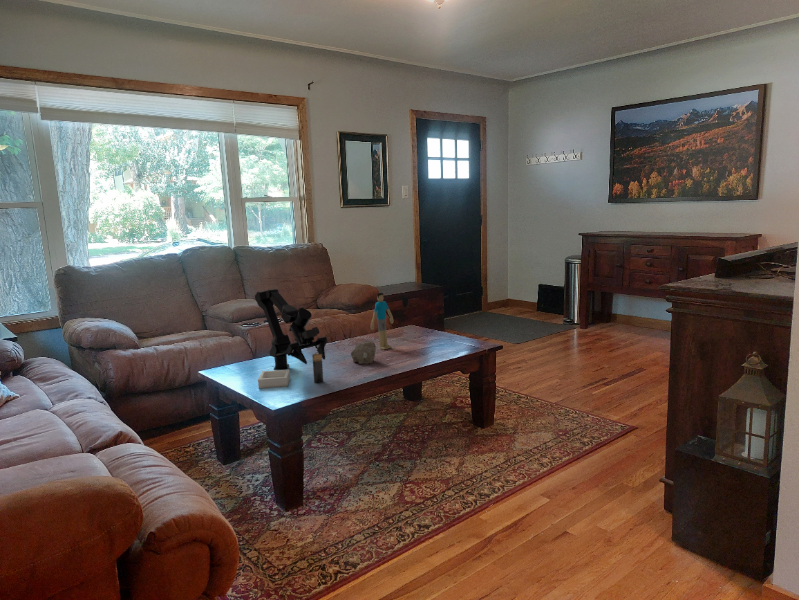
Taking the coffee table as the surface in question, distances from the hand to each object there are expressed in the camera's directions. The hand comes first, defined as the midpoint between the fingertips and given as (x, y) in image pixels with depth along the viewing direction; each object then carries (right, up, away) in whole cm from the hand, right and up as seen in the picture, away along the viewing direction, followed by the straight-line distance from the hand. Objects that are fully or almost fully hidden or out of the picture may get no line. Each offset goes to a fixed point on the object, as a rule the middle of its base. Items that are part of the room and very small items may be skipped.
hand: (315, 361), depth 235 cm
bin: (-18, -10, +1) cm, 20 cm away
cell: (+1, -9, 0) cm, 9 cm away
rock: (+20, -4, +28) cm, 34 cm away
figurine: (+28, +1, +52) cm, 60 cm away
